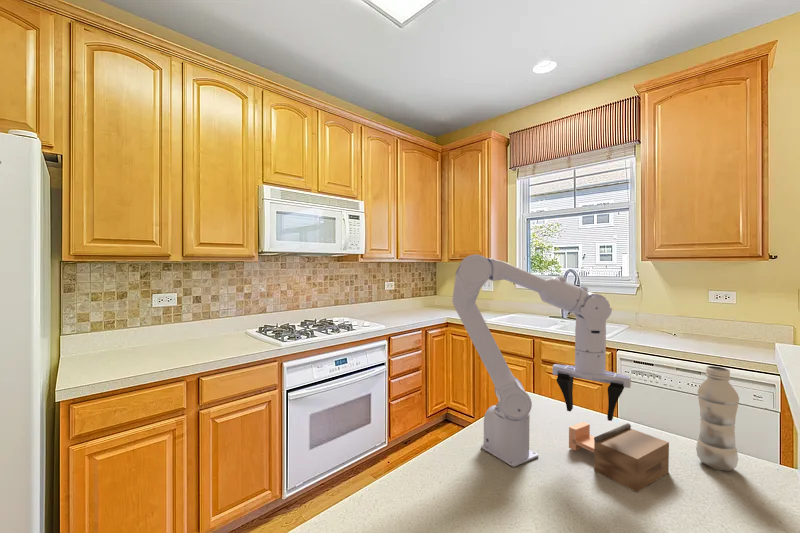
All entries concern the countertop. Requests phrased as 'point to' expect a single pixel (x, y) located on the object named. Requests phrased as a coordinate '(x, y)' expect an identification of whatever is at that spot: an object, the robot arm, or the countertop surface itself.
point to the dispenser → (630, 457)
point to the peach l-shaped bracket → (581, 437)
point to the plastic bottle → (717, 420)
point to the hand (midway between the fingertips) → (589, 414)
